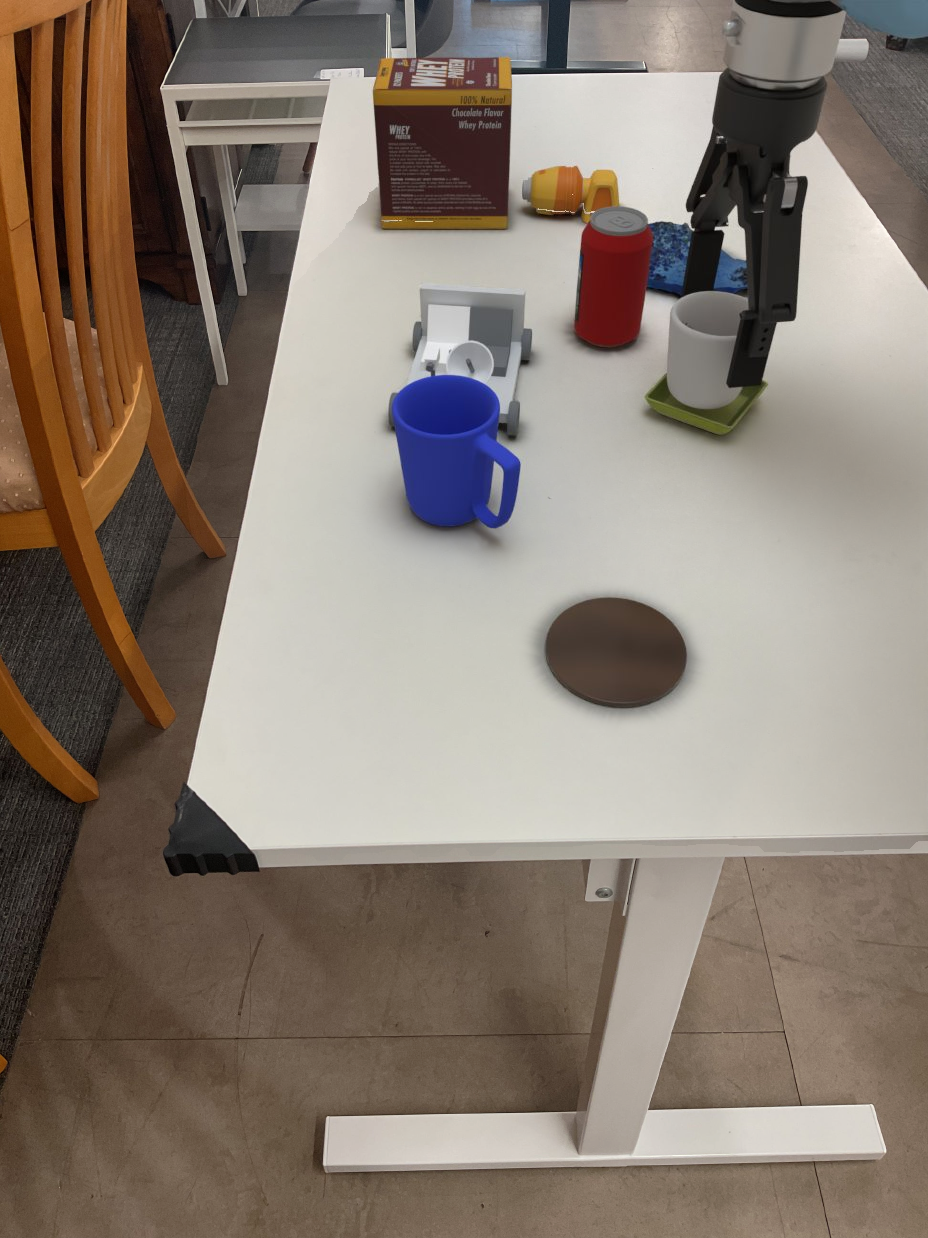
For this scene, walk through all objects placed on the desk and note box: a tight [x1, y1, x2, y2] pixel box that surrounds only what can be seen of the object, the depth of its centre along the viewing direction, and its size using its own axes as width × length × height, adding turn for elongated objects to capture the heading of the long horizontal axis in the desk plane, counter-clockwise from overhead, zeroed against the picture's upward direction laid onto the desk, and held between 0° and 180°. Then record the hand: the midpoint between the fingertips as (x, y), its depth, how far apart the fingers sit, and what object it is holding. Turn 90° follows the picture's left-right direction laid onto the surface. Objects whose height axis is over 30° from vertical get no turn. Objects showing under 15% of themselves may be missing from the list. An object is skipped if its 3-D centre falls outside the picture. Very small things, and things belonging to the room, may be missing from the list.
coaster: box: [545, 596, 688, 708], centre depth 67 cm, size 10×10×1 cm
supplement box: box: [372, 56, 513, 230], centre depth 110 cm, size 10×15×16 cm
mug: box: [392, 375, 522, 529], centre depth 74 cm, size 8×12×10 cm
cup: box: [666, 291, 749, 409], centre depth 83 cm, size 11×8×8 cm
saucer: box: [644, 372, 769, 436], centre depth 86 cm, size 9×9×2 cm
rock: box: [646, 220, 748, 296], centre depth 104 cm, size 15×17×2 cm
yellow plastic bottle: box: [521, 165, 620, 224], centre depth 113 cm, size 5×6×12 cm
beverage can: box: [573, 205, 653, 348], centre depth 92 cm, size 7×7×12 cm
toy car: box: [387, 283, 533, 436], centre depth 85 cm, size 18×10×12 cm
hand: (717, 341), depth 82 cm, fingers open, 13 cm apart
